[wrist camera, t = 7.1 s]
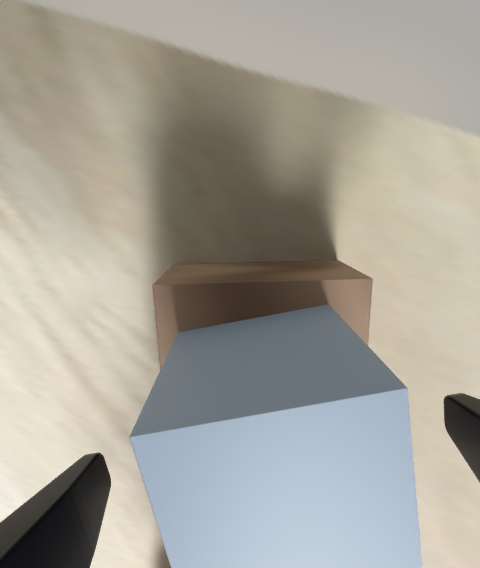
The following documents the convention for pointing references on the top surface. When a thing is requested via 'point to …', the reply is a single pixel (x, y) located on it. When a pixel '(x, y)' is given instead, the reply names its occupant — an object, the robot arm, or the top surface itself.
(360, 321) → the base brick
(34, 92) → the top surface
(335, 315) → the blue brick
